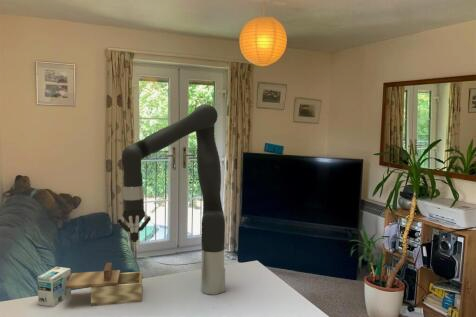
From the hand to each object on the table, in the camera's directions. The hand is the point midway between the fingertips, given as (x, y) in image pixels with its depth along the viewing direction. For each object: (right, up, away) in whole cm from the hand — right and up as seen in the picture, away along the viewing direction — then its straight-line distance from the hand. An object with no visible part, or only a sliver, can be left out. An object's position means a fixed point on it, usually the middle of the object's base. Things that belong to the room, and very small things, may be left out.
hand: (134, 241), depth 144 cm
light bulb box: (-30, -22, -3) cm, 37 cm away
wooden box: (-7, -22, +1) cm, 23 cm away
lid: (-15, -14, -2) cm, 21 cm away
